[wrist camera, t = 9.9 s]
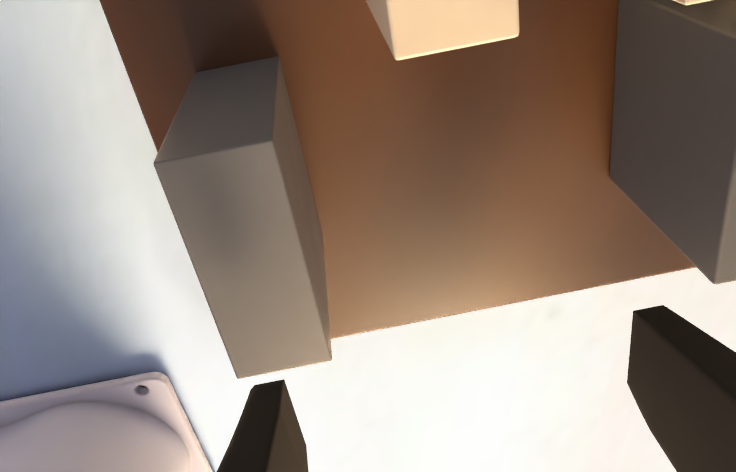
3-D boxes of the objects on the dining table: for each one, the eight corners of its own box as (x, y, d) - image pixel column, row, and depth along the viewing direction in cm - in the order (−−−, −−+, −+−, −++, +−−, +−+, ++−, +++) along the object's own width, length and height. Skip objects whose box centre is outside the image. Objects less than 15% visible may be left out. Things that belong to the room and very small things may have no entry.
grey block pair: (251, 249, 20) (236, 379, 15) (194, 72, 17) (152, 162, 12) (680, 164, 20) (808, 267, 15) (702, -28, 17) (875, 20, 12)
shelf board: (238, 340, 24) (235, 358, 23) (-3, -304, 13) (-23, -315, 13) (699, 249, 24) (715, 264, 23) (806, -464, 13) (841, -486, 13)
